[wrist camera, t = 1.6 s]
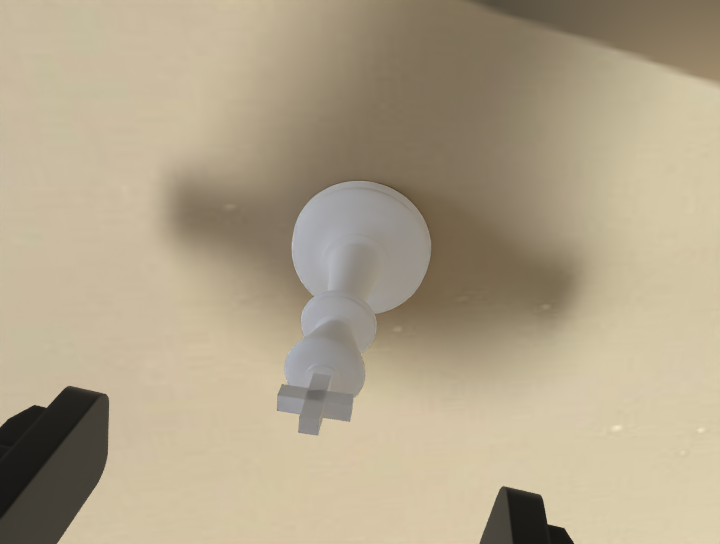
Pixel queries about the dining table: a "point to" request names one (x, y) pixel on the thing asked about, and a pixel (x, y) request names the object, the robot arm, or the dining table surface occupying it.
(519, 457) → the dining table surface
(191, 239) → the dining table surface
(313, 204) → the chess piece
